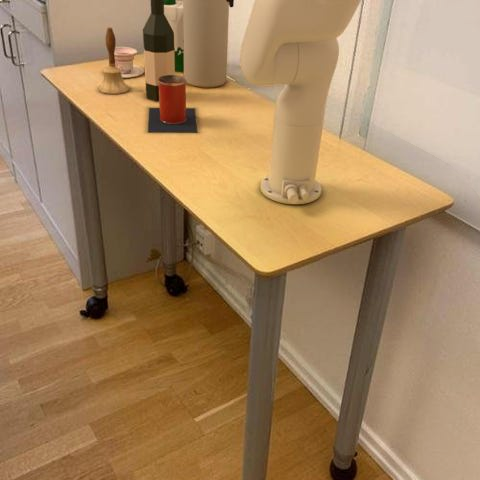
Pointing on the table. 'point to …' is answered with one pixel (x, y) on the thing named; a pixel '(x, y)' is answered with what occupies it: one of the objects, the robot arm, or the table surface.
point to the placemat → (185, 127)
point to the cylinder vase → (205, 42)
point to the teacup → (126, 62)
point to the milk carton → (176, 30)
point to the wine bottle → (157, 49)
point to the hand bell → (112, 70)
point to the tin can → (172, 99)
